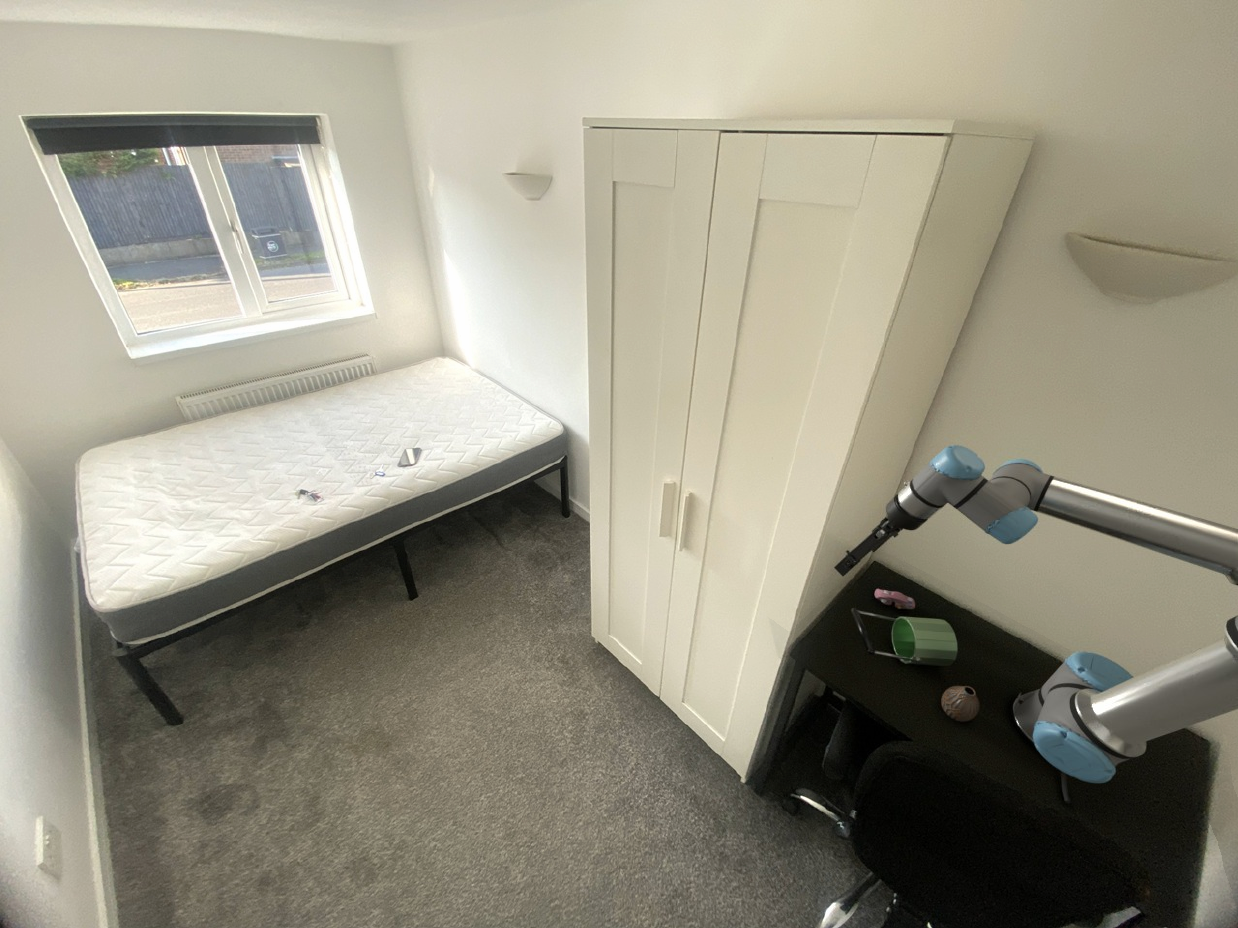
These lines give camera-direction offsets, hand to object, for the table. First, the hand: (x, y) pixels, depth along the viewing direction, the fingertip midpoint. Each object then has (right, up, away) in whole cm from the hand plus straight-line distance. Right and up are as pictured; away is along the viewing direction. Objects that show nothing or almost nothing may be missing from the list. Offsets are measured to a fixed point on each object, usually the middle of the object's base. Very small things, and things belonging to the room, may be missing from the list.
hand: (854, 559), depth 119 cm
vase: (+22, -35, -2) cm, 42 cm away
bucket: (+25, -22, +7) cm, 34 cm away
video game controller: (+21, -17, +23) cm, 36 cm away
